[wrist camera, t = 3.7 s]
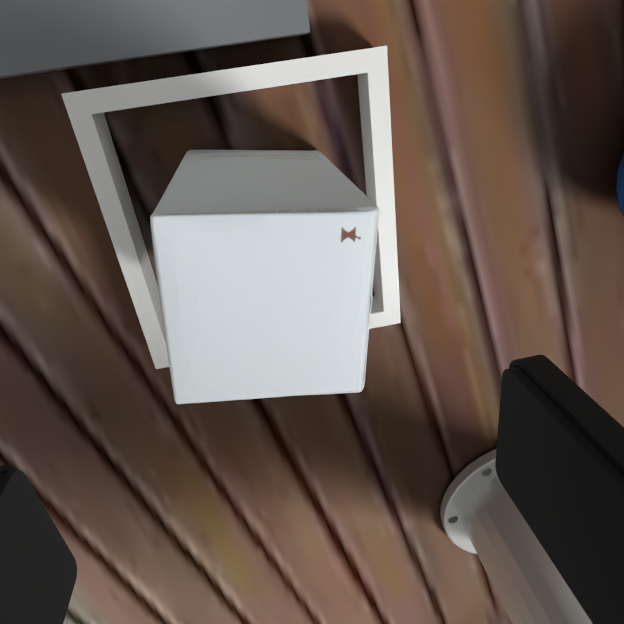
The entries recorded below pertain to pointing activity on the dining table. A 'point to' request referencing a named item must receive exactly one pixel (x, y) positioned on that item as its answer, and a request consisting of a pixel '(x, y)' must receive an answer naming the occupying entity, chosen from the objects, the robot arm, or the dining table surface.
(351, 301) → the supplement box
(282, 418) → the dining table surface
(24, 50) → the grey base with cube
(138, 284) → the white square frame
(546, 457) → the robot arm
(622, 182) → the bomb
